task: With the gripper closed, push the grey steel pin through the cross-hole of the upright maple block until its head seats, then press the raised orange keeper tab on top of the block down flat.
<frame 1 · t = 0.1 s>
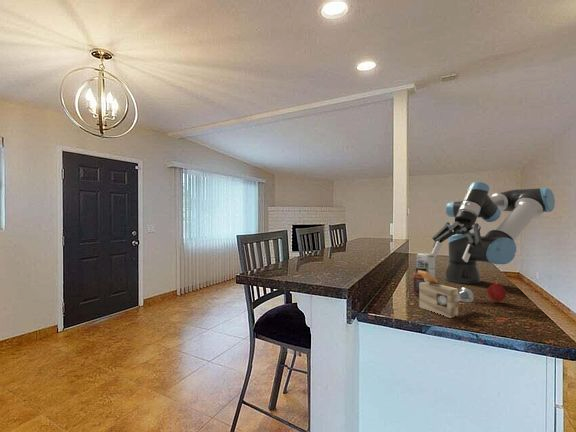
hand: (448, 257, 123), 15 cm above the worktop, tool tilted 35°, fingers open, 13 cm apart
onion: (496, 303, 113), on the worktop
syrup box: (425, 285, 141), on the worktop
supplement bottle: (421, 295, 126), on the worktop
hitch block: (437, 311, 105), on the worktop
pin: (454, 297, 104), point 5 cm above the worktop, slide at 0.0 cm
keeper tab: (428, 277, 107), point 11 cm above the worktop, hinge at 34.0°, touching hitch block
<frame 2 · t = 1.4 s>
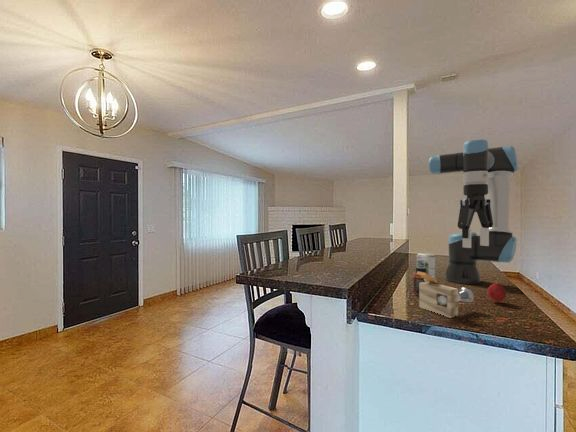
hand: (475, 246, 109), 22 cm above the worktop, tool pointing down, fingers open, 9 cm apart
keeper tab: (427, 277, 107), point 11 cm above the worktop, hinge at 29.7°
everything else where it was.
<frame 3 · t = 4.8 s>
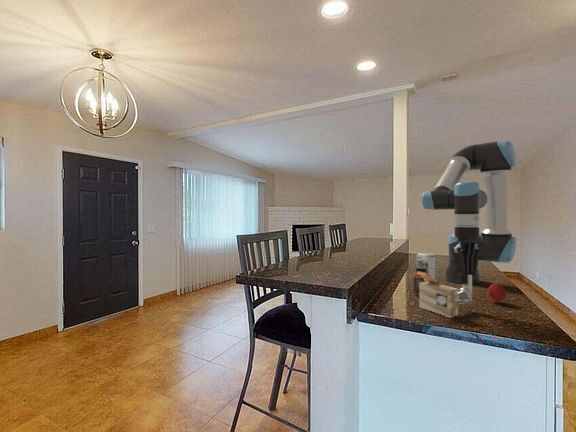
hand: (467, 293, 107), 6 cm above the worktop, tool pointing down, fingers closed
pin: (453, 297, 104), point 5 cm above the worktop, slide at 0.8 cm, touching gripper
everything else where it was.
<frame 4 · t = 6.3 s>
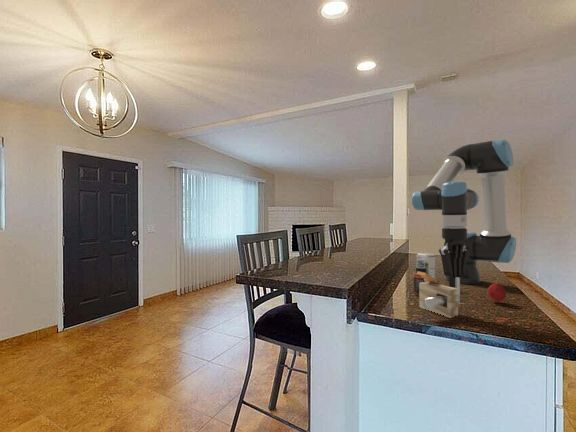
hand: (454, 296, 104), 5 cm above the worktop, tool pointing down, fingers closed
pin: (440, 300, 101), point 5 cm above the worktop, slide at 7.4 cm, touching gripper
everything else where it was.
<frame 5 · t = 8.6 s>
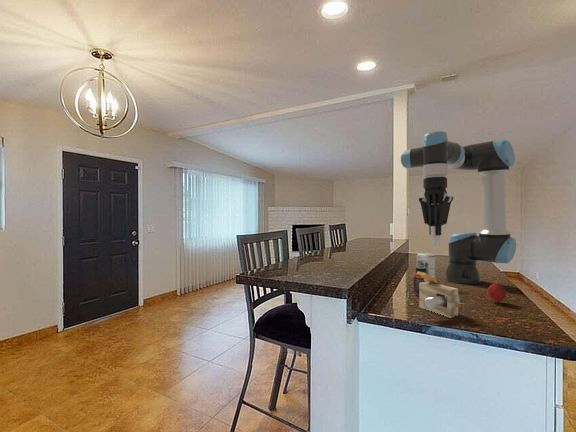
hand: (435, 244, 107), 23 cm above the worktop, tool pointing down, fingers closed
pin: (440, 300, 101), point 5 cm above the worktop, slide at 7.4 cm
everything else where it was.
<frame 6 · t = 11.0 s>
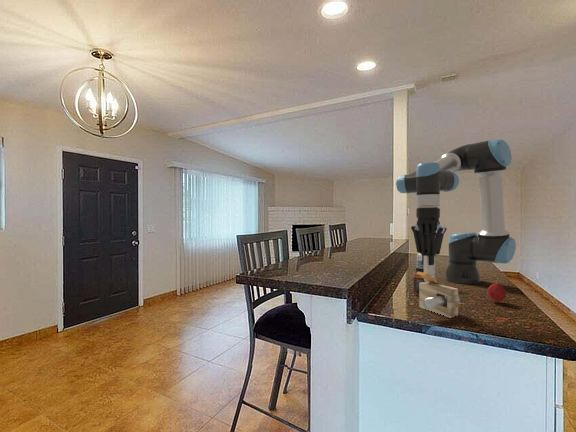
hand: (428, 273, 107), 13 cm above the worktop, tool pointing down, fingers closed
keeper tab: (427, 277, 107), point 11 cm above the worktop, hinge at 29.2°, touching gripper
everything else where it was.
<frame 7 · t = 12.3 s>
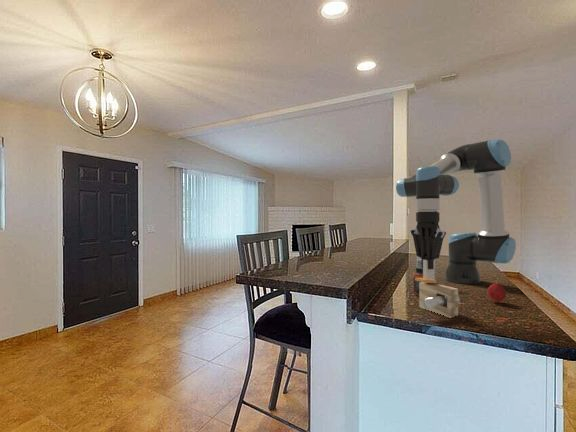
hand: (427, 277, 107), 11 cm above the worktop, tool pointing down, fingers closed
keeper tab: (426, 280, 107), point 10 cm above the worktop, hinge at 10.2°, touching gripper
everything else where it was.
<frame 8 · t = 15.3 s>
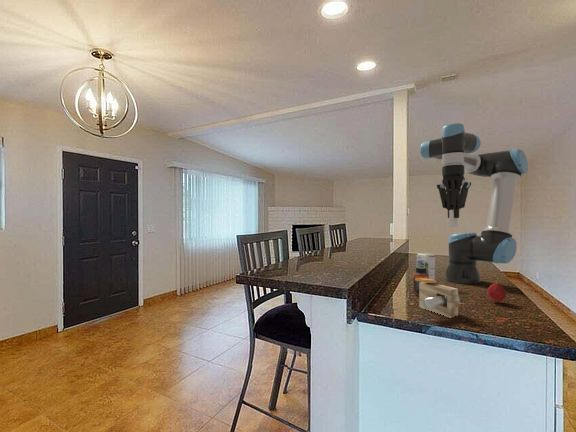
hand: (453, 226, 117), 28 cm above the worktop, tool pointing down, fingers closed
keeper tab: (426, 280, 107), point 10 cm above the worktop, hinge at 9.9°
everything else where it was.
at the end: pin slide at 7.4 cm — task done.
